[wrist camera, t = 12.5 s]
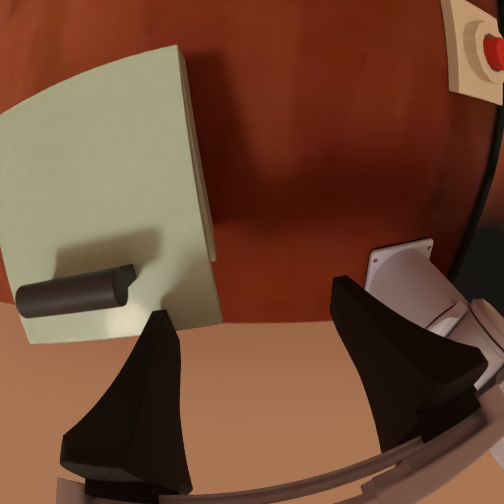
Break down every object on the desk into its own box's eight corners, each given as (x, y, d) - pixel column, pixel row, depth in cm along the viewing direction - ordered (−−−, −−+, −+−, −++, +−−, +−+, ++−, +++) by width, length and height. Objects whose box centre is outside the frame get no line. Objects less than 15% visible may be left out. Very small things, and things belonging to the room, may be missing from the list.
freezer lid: (222, 317, 13) (224, 359, 9) (36, 339, 12) (2, 370, 8) (179, 51, 10) (167, 7, 7) (-2, 121, 10) (-42, 110, 6)
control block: (492, 102, 18) (513, 109, 15) (448, 90, 17) (472, 96, 15) (487, 18, 12) (508, 20, 10) (438, -7, 11) (461, -10, 9)
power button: (500, 72, 13) (514, 75, 12) (483, 64, 13) (498, 66, 12) (498, 41, 12) (511, 43, 10) (480, 31, 11) (494, 32, 10)
